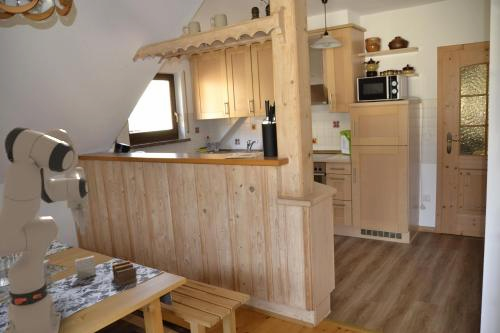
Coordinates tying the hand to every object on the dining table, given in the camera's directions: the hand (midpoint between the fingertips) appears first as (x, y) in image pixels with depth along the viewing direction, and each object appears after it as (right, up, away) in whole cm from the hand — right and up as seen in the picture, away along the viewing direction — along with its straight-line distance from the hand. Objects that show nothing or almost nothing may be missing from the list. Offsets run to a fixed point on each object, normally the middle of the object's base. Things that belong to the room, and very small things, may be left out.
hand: (81, 231), depth 186 cm
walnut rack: (+20, -21, -1) cm, 29 cm away
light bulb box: (-17, -24, -5) cm, 30 cm away
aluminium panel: (+1, -21, +3) cm, 22 cm away
